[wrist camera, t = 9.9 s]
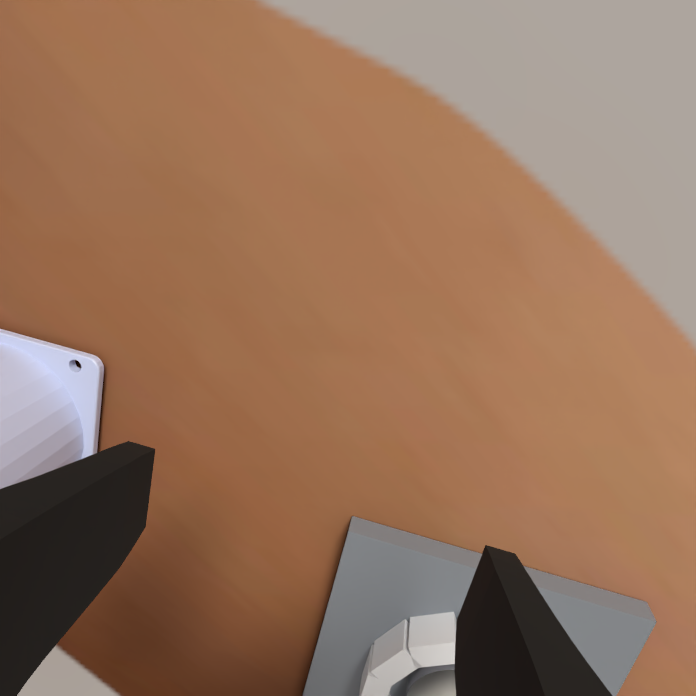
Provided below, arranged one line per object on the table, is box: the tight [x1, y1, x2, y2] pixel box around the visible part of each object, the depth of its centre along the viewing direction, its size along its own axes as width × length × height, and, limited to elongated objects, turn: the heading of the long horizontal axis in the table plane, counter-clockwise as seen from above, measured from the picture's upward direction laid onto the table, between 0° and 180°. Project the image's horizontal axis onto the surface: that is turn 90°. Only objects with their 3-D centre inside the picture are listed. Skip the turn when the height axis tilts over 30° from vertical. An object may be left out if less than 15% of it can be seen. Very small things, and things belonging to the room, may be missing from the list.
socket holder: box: [302, 516, 656, 696], centre depth 23 cm, size 12×12×2 cm
